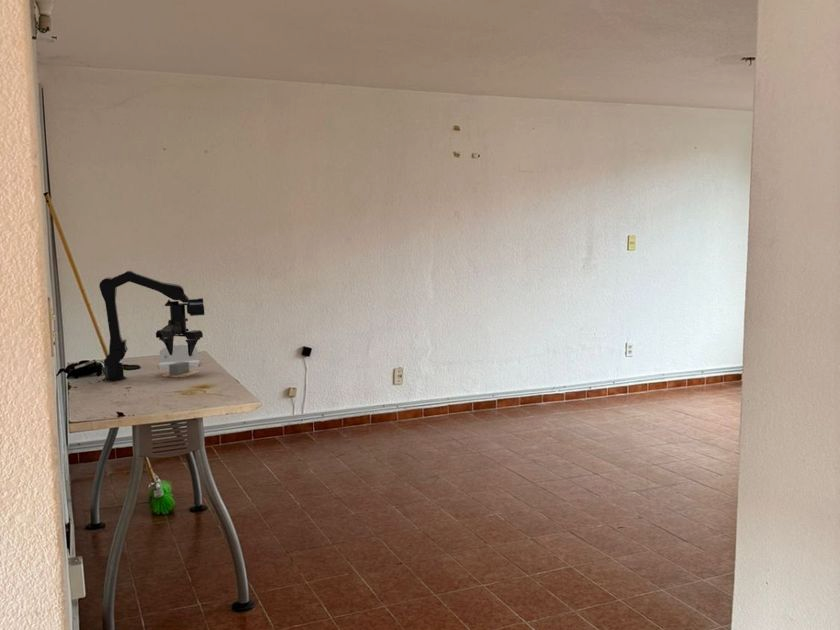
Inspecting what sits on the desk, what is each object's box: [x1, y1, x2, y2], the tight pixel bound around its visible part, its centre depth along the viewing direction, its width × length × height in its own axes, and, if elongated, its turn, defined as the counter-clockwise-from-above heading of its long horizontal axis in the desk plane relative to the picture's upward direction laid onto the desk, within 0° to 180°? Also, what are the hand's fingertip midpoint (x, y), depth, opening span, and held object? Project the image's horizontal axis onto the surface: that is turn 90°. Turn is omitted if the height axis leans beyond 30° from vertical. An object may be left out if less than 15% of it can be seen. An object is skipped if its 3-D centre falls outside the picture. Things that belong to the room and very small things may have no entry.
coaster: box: [161, 370, 200, 379], centre depth 318 cm, size 10×10×1 cm
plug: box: [168, 361, 191, 375], centre depth 318 cm, size 4×9×4 cm
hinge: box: [158, 344, 201, 370], centre depth 335 cm, size 17×5×10 cm, turn 106°
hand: (180, 355), depth 317 cm, fingers open, 9 cm apart
